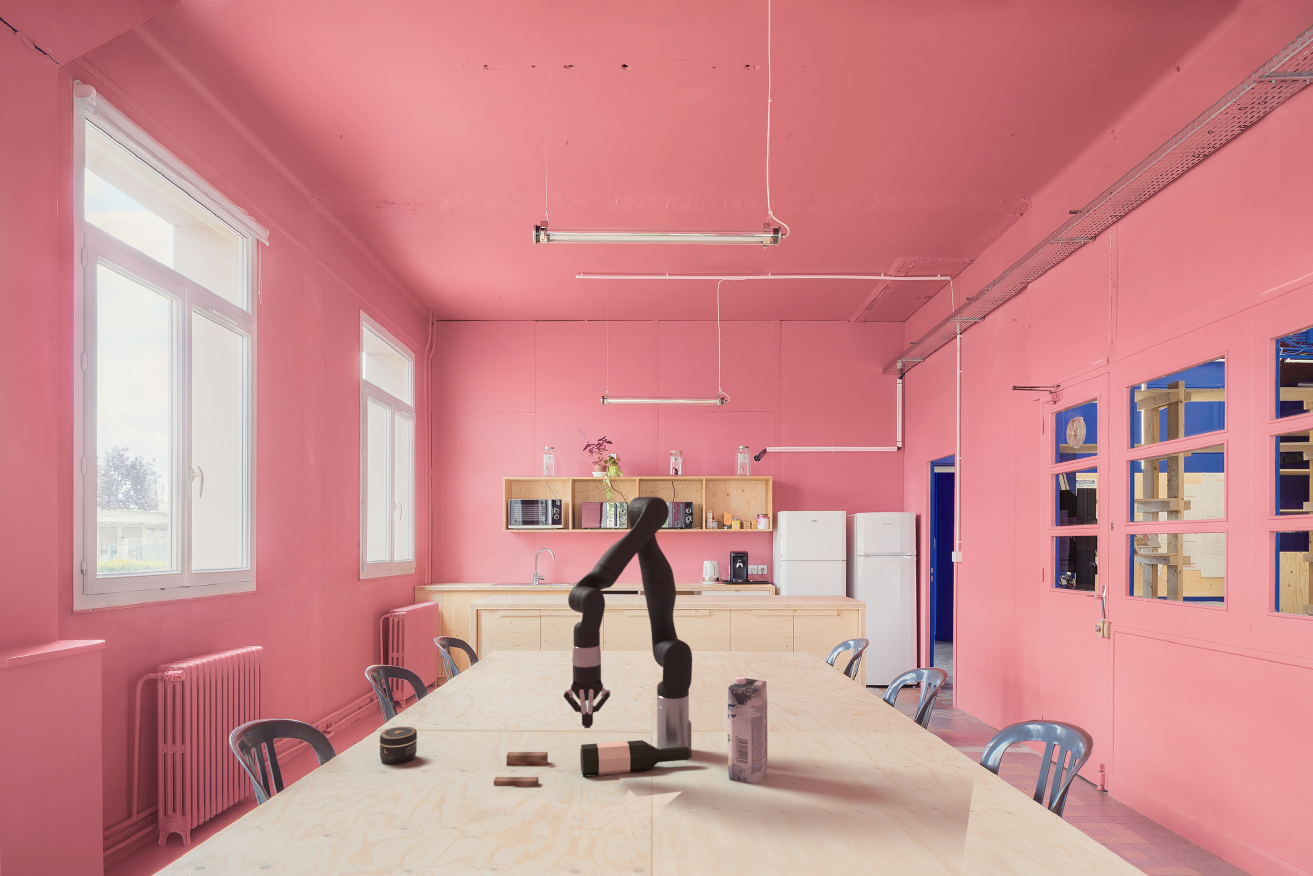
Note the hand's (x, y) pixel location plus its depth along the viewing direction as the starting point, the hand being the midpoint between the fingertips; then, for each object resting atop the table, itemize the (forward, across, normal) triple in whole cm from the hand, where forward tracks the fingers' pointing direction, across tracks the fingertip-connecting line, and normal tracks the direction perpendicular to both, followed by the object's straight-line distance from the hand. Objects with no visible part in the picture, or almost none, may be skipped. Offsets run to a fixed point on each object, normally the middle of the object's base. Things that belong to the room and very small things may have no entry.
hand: (587, 727), depth 201 cm
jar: (+13, +55, -12) cm, 57 cm away
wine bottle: (+9, +2, -1) cm, 9 cm away
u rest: (+13, +18, 0) cm, 22 cm away
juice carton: (+14, -42, +3) cm, 45 cm away
